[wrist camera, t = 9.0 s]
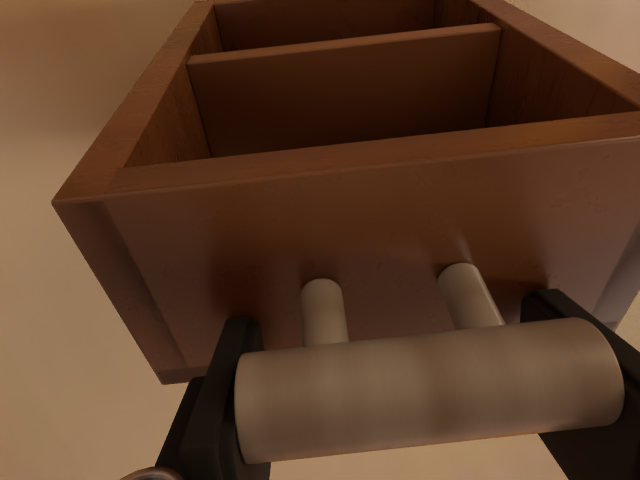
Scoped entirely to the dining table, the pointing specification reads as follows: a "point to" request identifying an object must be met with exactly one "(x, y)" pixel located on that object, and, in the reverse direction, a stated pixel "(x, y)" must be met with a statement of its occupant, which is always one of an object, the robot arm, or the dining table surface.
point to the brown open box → (372, 218)
